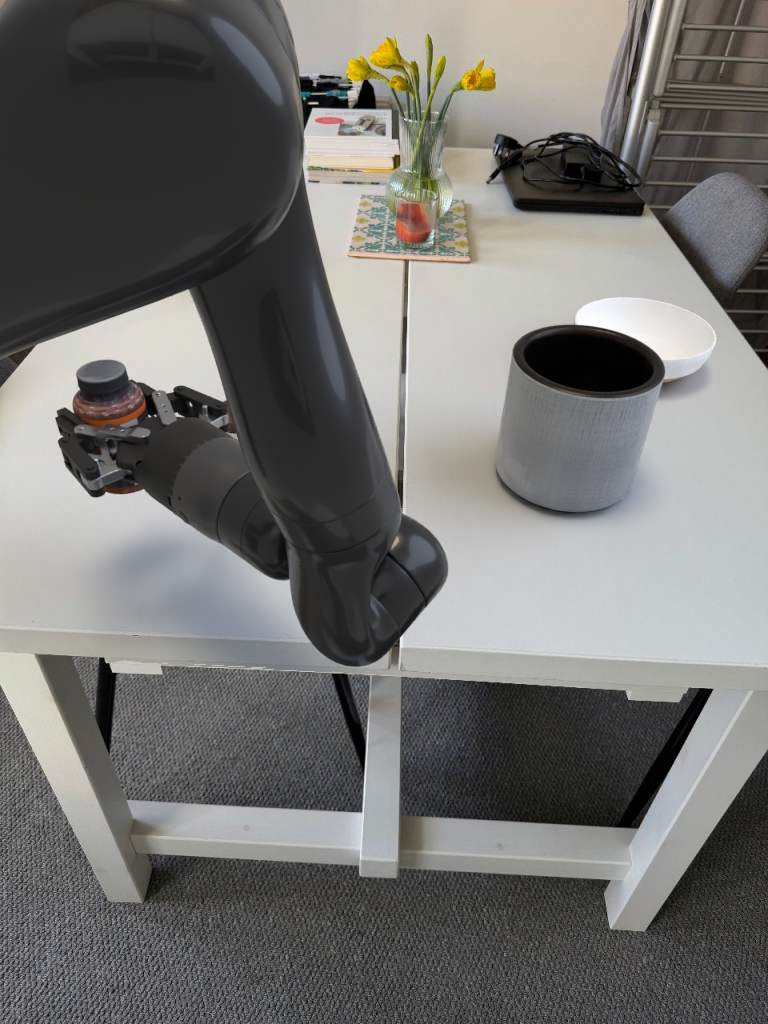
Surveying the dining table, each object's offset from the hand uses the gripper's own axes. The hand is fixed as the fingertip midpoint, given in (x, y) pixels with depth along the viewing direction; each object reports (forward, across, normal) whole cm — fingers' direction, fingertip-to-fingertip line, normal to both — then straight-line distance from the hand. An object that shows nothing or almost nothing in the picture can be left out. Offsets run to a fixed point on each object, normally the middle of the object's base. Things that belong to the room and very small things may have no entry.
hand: (96, 403), depth 65 cm
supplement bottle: (-2, 0, +7) cm, 8 cm away
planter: (-26, -41, +17) cm, 52 cm away
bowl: (-20, -72, +17) cm, 76 cm away
